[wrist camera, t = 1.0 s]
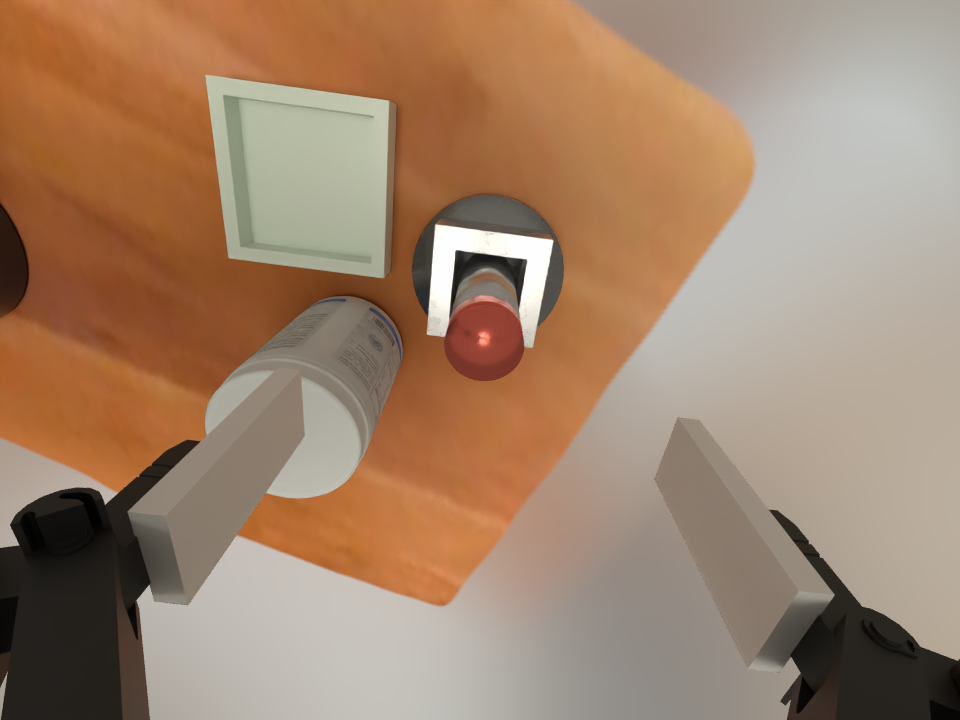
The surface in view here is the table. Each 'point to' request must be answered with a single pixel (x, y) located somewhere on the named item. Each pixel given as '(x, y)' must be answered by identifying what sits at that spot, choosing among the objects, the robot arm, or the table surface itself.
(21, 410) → the table surface
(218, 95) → the tray
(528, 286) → the grey socket fixture
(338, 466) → the supplement tub
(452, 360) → the red capped bottle
